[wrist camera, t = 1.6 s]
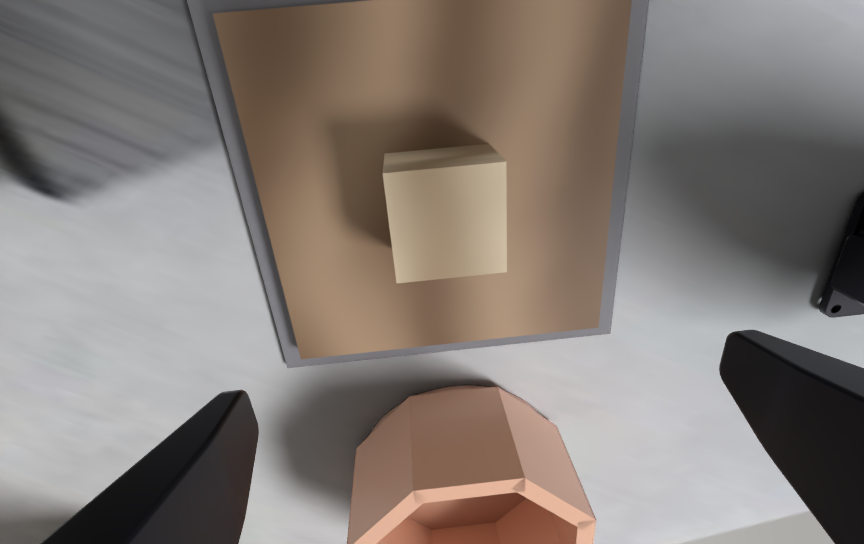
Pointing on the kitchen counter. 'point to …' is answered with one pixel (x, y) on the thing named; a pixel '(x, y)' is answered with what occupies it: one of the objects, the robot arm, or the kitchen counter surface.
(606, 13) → the cover
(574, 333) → the mat
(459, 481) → the bowl
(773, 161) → the kitchen counter surface
